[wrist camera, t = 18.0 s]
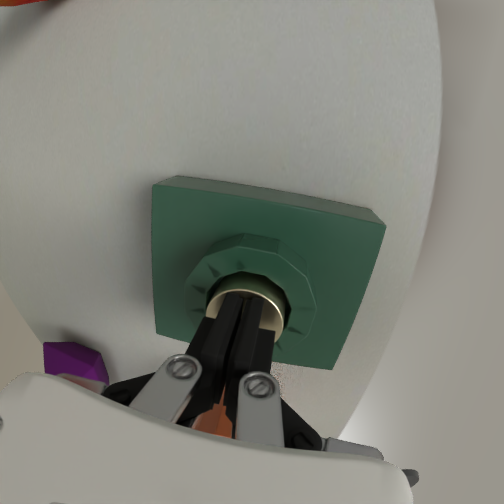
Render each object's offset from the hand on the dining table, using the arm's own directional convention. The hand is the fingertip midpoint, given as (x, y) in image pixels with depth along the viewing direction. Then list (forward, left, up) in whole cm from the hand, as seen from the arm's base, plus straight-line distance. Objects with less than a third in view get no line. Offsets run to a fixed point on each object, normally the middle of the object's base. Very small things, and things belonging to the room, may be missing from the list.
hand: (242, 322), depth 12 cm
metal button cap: (0, 0, -2) cm, 2 cm away
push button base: (0, 0, -6) cm, 6 cm away
